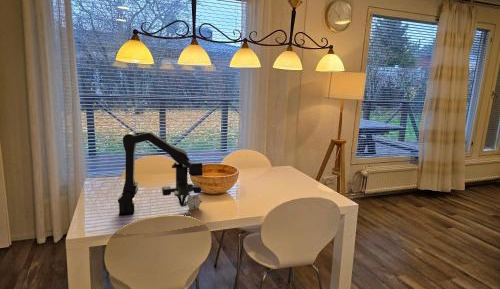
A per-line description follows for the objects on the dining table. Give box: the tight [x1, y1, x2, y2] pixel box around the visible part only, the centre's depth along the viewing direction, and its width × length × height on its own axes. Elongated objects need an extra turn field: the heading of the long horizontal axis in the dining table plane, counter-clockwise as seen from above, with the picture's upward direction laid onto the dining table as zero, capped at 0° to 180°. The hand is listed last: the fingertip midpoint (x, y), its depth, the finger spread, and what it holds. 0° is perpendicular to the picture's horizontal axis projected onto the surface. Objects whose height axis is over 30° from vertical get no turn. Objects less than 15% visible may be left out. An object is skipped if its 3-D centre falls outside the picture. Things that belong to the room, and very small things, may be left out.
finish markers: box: [181, 196, 192, 217], centre depth 171 cm, size 3×25×2 cm, turn 19°
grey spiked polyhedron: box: [185, 193, 203, 211], centre depth 170 cm, size 9×8×10 cm
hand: (181, 205), depth 168 cm, fingers closed
